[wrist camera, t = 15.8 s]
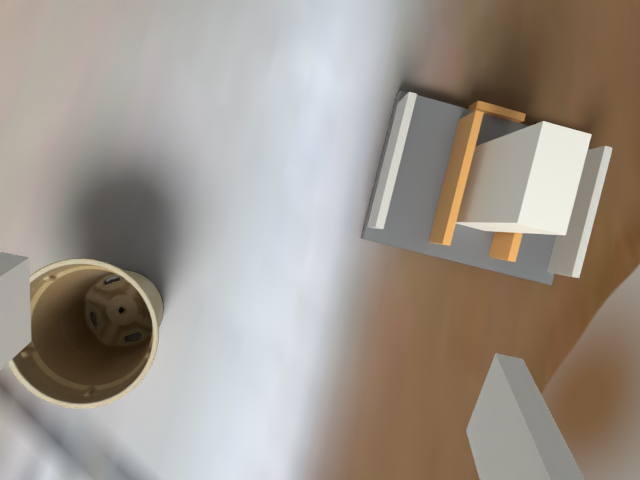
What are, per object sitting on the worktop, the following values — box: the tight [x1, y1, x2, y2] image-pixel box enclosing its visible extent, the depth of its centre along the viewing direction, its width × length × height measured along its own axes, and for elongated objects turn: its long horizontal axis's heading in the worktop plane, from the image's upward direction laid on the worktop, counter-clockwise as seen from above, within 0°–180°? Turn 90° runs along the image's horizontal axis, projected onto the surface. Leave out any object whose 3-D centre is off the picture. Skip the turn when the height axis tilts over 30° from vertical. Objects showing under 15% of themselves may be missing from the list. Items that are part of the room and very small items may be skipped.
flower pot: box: [8, 258, 163, 409], centre depth 36 cm, size 9×9×9 cm
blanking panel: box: [456, 121, 592, 235], centre depth 35 cm, size 6×3×12 cm, turn 166°
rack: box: [361, 90, 612, 285], centre depth 40 cm, size 13×16×5 cm
